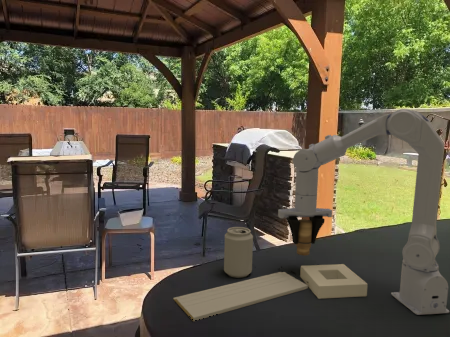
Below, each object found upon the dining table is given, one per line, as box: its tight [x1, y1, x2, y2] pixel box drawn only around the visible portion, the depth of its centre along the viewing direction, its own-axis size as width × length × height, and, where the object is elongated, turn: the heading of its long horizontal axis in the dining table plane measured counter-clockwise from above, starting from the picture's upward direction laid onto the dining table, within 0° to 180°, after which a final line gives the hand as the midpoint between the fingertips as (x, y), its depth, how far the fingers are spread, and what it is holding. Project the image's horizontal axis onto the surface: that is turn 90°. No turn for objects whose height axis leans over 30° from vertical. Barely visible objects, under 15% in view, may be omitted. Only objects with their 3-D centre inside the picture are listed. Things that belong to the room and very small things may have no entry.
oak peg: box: [295, 218, 312, 256], centre depth 99 cm, size 4×4×9 cm
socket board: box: [299, 263, 369, 300], centre depth 91 cm, size 12×12×3 cm
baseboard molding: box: [173, 266, 309, 322], centre depth 86 cm, size 31×3×12 cm
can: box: [223, 226, 254, 279], centre depth 96 cm, size 8×8×12 cm
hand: (303, 242), depth 99 cm, fingers closed on oak peg, 4 cm apart
